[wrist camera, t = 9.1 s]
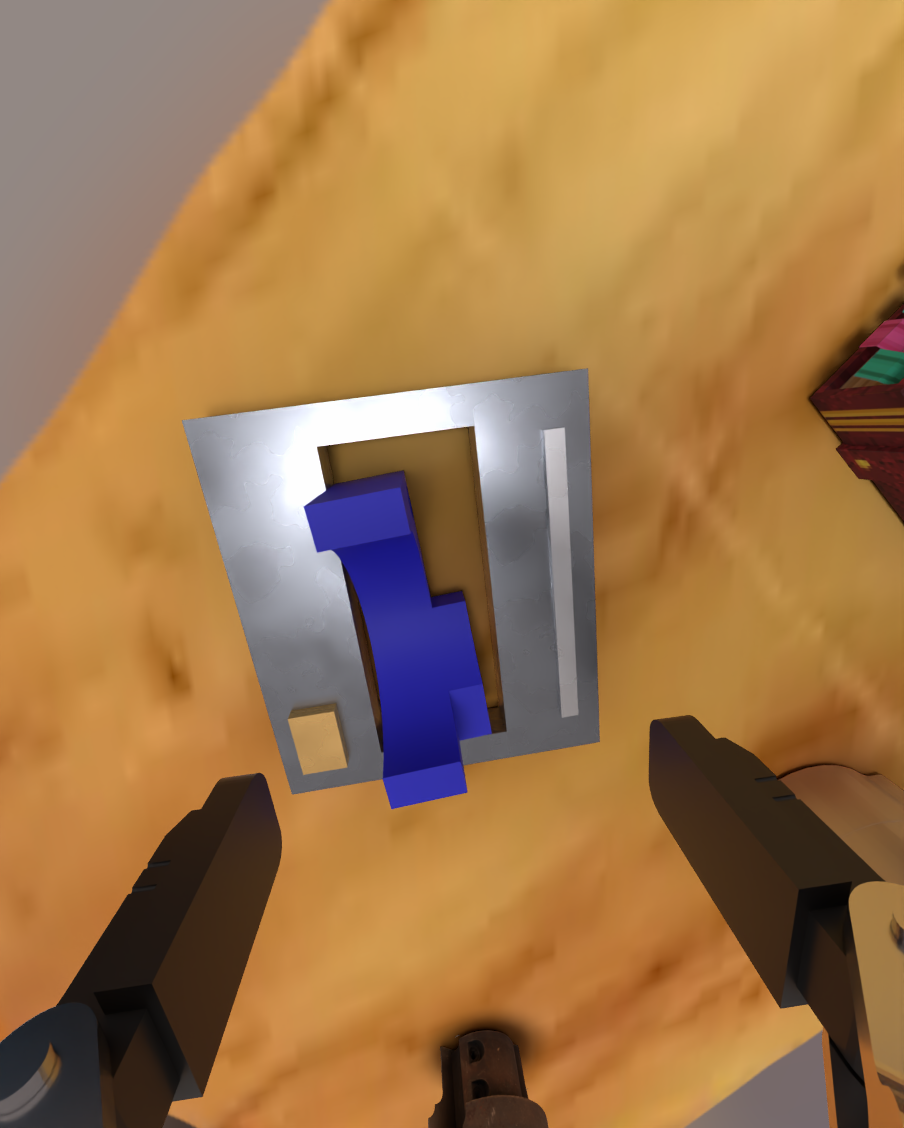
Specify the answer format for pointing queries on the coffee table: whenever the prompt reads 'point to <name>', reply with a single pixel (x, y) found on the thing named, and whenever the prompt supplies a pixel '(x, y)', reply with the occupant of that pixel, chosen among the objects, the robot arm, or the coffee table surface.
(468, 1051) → the industrial component
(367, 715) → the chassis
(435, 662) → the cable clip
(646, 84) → the coffee table surface
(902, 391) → the decorative book
